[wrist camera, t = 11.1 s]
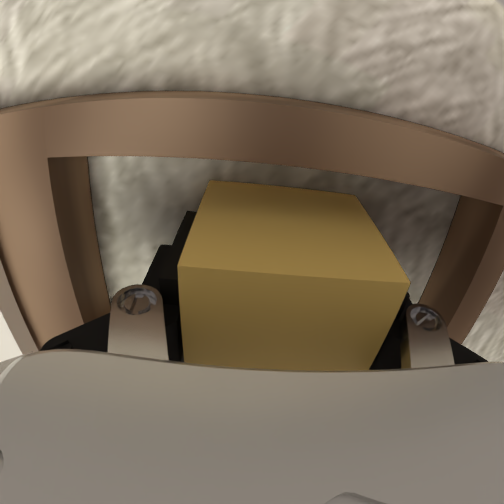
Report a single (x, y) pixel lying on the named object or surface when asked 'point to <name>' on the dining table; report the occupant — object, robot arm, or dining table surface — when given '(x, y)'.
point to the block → (286, 280)
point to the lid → (12, 324)
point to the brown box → (223, 148)
